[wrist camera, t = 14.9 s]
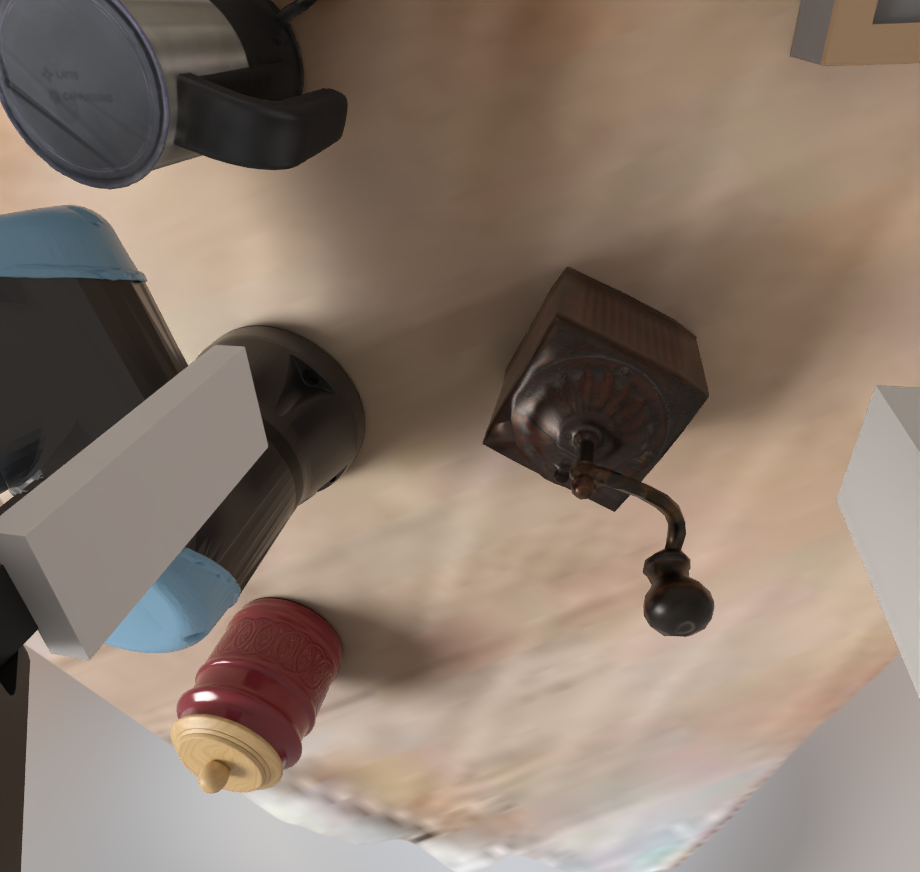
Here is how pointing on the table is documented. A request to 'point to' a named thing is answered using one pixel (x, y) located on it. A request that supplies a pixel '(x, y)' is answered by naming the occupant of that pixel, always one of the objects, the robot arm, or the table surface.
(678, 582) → the coffee grinder
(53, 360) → the robot arm
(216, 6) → the milk frother
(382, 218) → the table surface
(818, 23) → the plinth
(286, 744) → the canister
